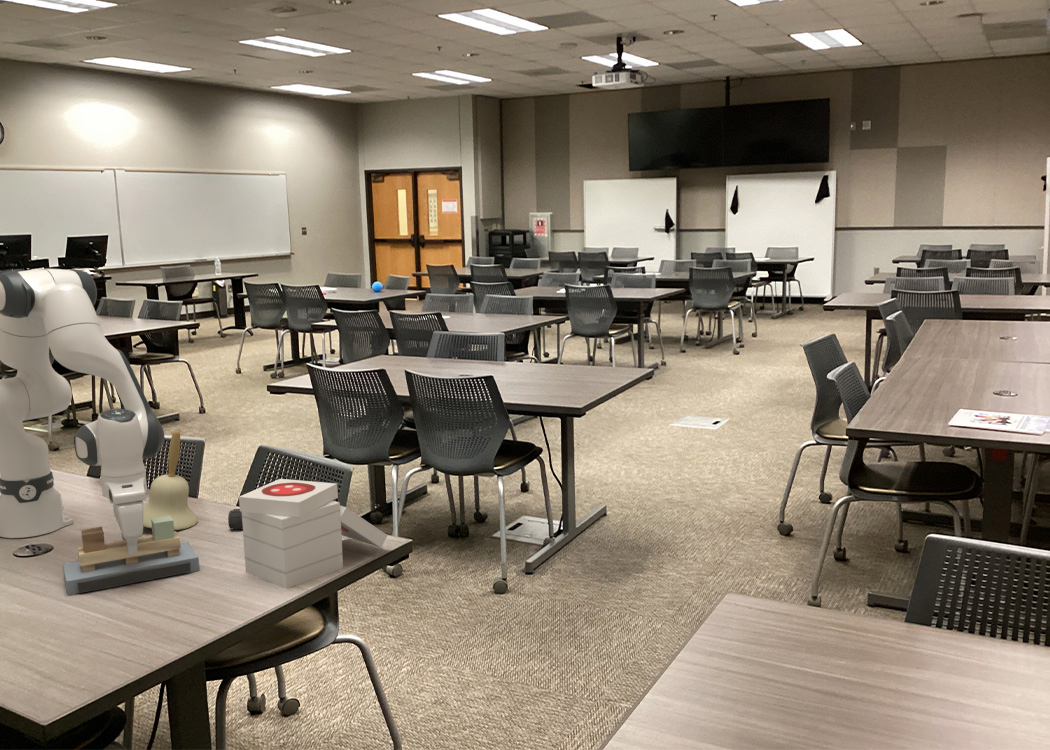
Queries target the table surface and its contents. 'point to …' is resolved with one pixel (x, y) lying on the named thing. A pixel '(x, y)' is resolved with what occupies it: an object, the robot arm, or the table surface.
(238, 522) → the flashlight
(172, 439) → the handbell
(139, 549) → the pallet
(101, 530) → the block
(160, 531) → the block
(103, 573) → the dock
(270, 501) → the pizza boxes
